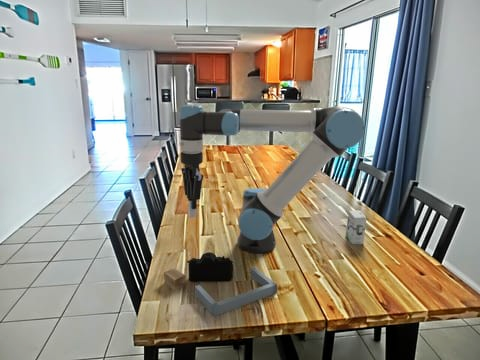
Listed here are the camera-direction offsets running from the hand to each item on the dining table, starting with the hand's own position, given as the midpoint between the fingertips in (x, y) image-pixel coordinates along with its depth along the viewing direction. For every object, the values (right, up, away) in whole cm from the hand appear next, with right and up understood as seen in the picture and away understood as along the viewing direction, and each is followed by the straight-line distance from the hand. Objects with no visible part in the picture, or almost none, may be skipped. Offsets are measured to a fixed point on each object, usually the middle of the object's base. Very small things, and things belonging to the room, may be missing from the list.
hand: (192, 216), depth 126 cm
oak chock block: (-4, -21, -13) cm, 25 cm away
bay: (+16, -22, -18) cm, 33 cm away
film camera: (+7, -19, -7) cm, 22 cm away
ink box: (+65, -12, +21) cm, 69 cm away
